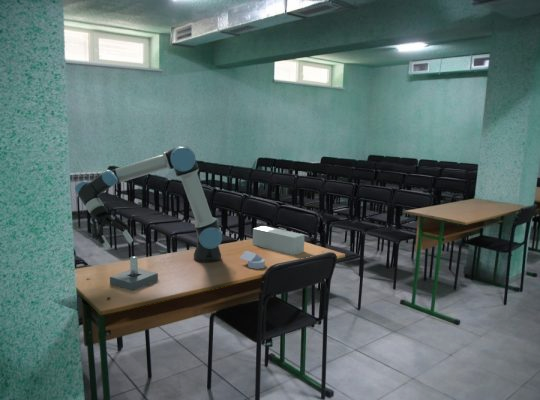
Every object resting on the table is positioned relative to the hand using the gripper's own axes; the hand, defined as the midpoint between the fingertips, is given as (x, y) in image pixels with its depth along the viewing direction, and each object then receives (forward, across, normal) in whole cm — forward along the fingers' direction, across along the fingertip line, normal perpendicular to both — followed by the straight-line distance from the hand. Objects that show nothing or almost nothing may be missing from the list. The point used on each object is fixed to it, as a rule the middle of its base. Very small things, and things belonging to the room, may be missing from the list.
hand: (120, 245), depth 202 cm
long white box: (+37, -92, +13) cm, 100 cm away
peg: (+17, 0, -6) cm, 18 cm away
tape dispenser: (+41, -54, +17) cm, 70 cm away
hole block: (+18, 0, -6) cm, 18 cm away
